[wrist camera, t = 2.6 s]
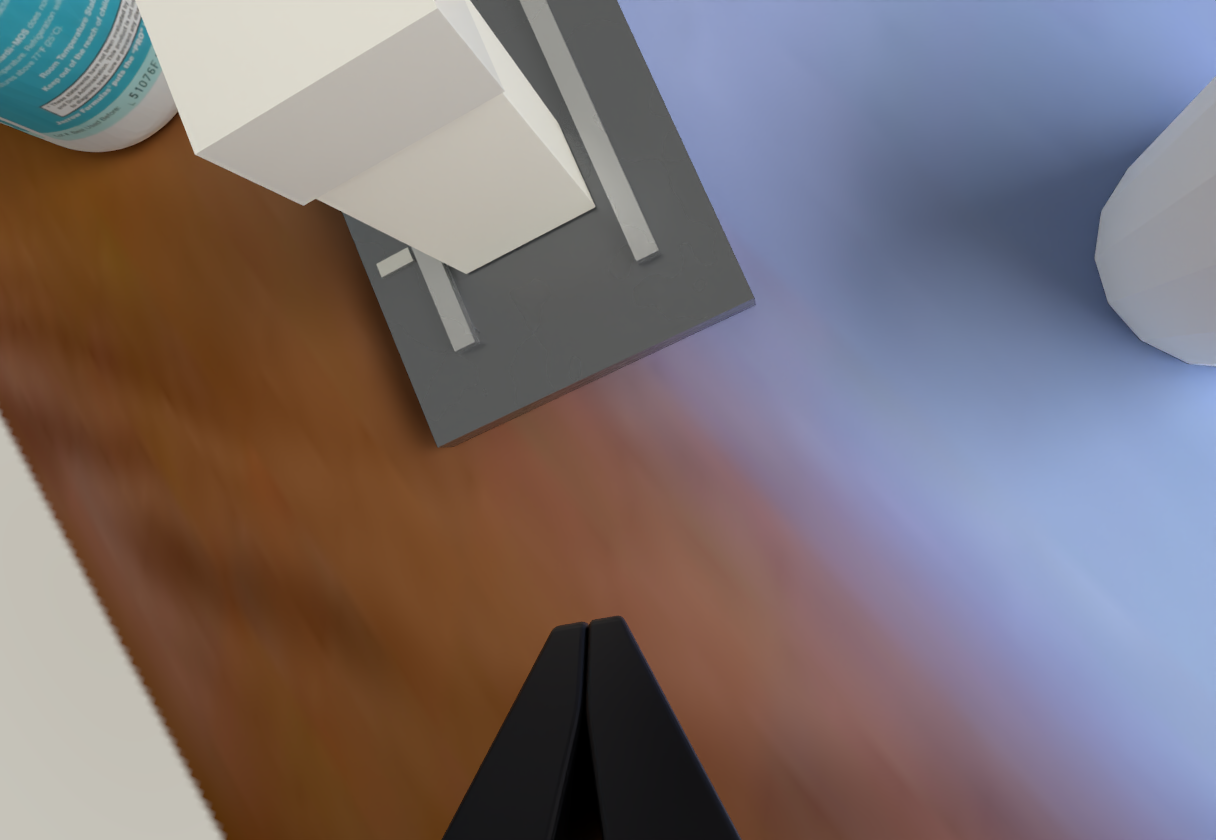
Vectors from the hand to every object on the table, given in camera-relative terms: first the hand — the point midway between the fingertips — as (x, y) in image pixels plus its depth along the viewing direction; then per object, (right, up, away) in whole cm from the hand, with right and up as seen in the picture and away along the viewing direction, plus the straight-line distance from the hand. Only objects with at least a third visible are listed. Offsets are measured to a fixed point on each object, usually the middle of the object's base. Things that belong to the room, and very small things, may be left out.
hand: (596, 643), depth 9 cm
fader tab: (-2, +8, +11) cm, 14 cm away
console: (-3, +10, +12) cm, 16 cm away
